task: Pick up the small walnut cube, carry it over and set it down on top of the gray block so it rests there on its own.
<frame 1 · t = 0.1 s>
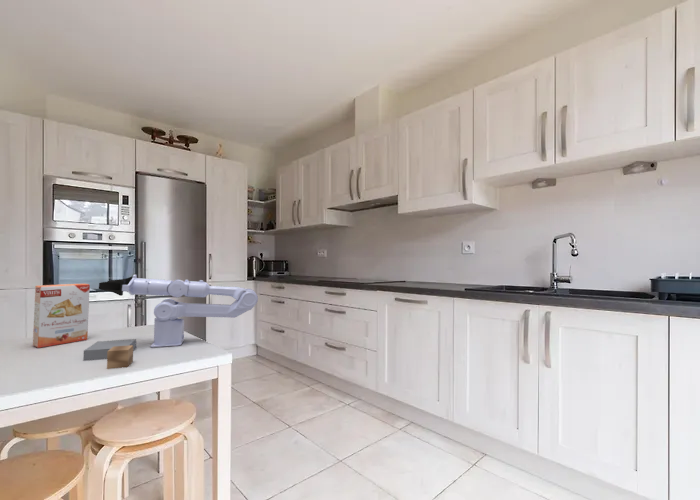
hand: (103, 284, 111), 22 cm above the table, tool horizontal, fingers open, 7 cm apart
walnut cube: (120, 365, 95), on the table
gray block: (111, 355, 105), on the table
cracker box: (61, 343, 117), on the table
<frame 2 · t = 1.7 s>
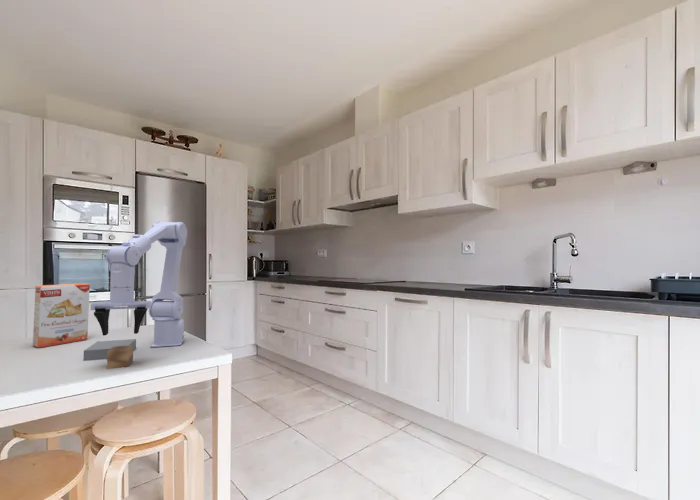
hand: (121, 333, 95), 9 cm above the table, tool pointing down, fingers open, 7 cm apart
nothing on the table moved.
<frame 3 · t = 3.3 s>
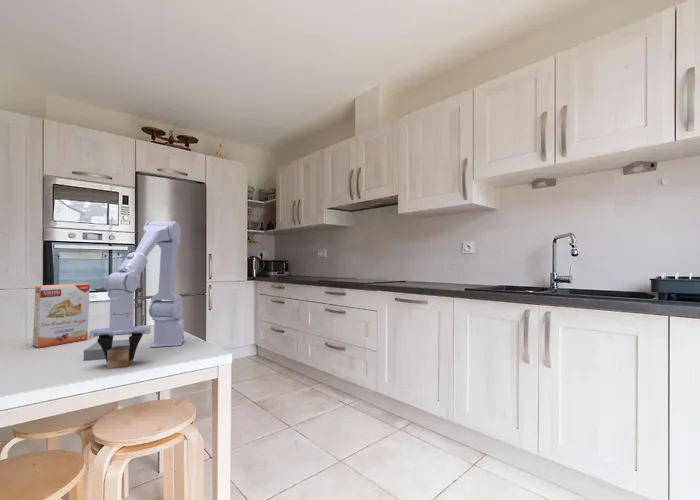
hand: (120, 360, 95), 1 cm above the table, tool pointing down, fingers closed on walnut cube, 5 cm apart
walnut cube: (120, 365, 95), on the table, touching gripper
everything else where it was.
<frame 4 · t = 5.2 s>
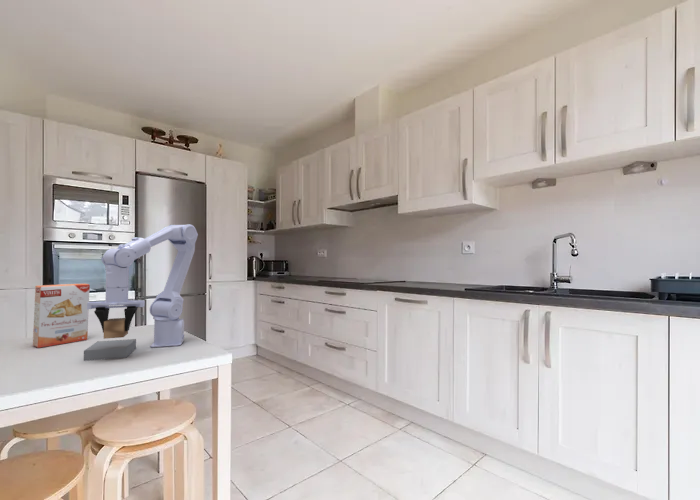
hand: (116, 331, 101), 8 cm above the table, tool pointing down, fingers closed on walnut cube, 5 cm apart
walnut cube: (116, 335, 101), point 7 cm above the table, touching gripper
everything else where it was.
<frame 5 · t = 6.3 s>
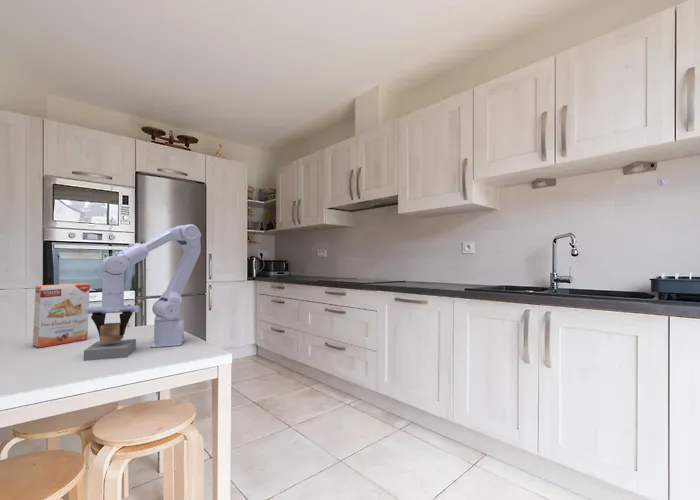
hand: (112, 335, 105), 6 cm above the table, tool pointing down, fingers closed on walnut cube, 5 cm apart
walnut cube: (111, 340, 105), point 4 cm above the table, touching gripper
everything else where it was.
when the fingers open (6 cm above the table, at t = 7.1 s): walnut cube drops 1 cm, resting on gray block.
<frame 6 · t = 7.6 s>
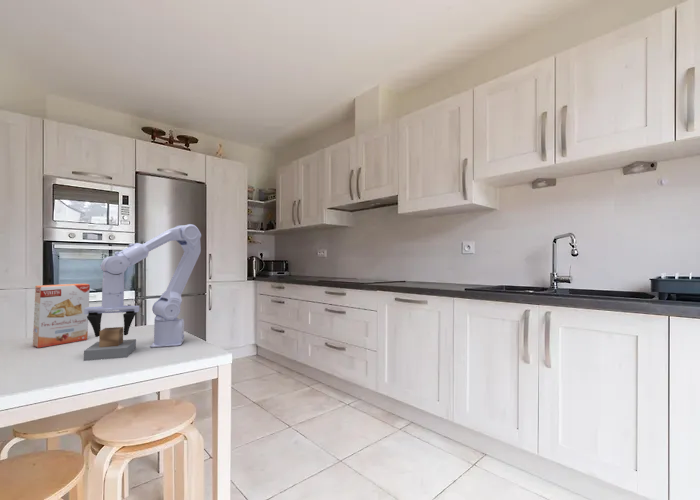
hand: (112, 335, 105), 6 cm above the table, tool pointing down, fingers open, 7 cm apart
walnut cube: (111, 344, 105), point 3 cm above the table, touching gray block
gray block: (111, 355, 105), on the table, touching walnut cube
everything else where it was.
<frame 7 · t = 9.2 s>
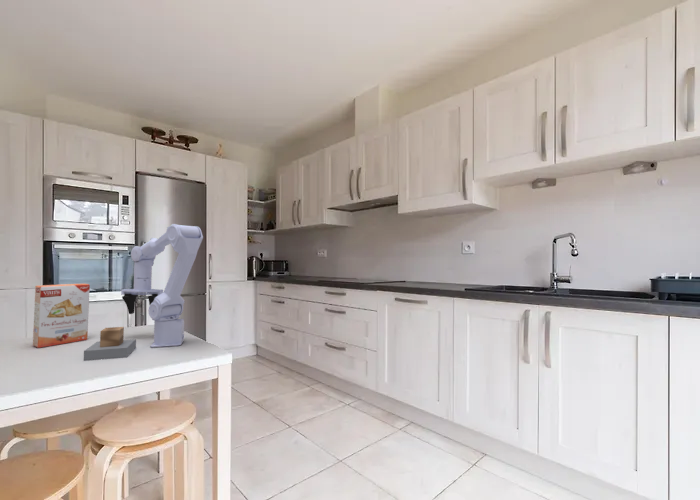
hand: (141, 313, 125), 9 cm above the table, tool pointing down, fingers open, 7 cm apart
walnut cube: (112, 344, 105), point 3 cm above the table
gray block: (111, 355, 105), on the table
everything else where it was.
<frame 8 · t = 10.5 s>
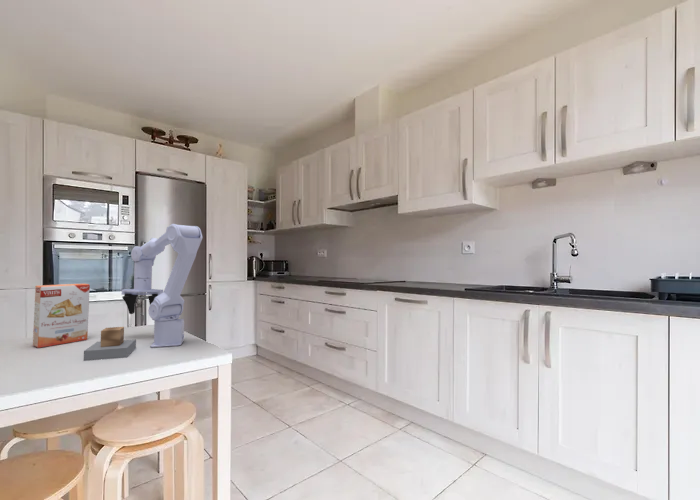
hand: (142, 313, 125), 9 cm above the table, tool pointing down, fingers open, 7 cm apart
nothing on the table moved.
at the end: walnut cube inside the target area on the gray block (0.4 cm from its centre), point 3.5 cm above the gray block's base; walnut cube tilted 0°; walnut cube touching nothing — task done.
